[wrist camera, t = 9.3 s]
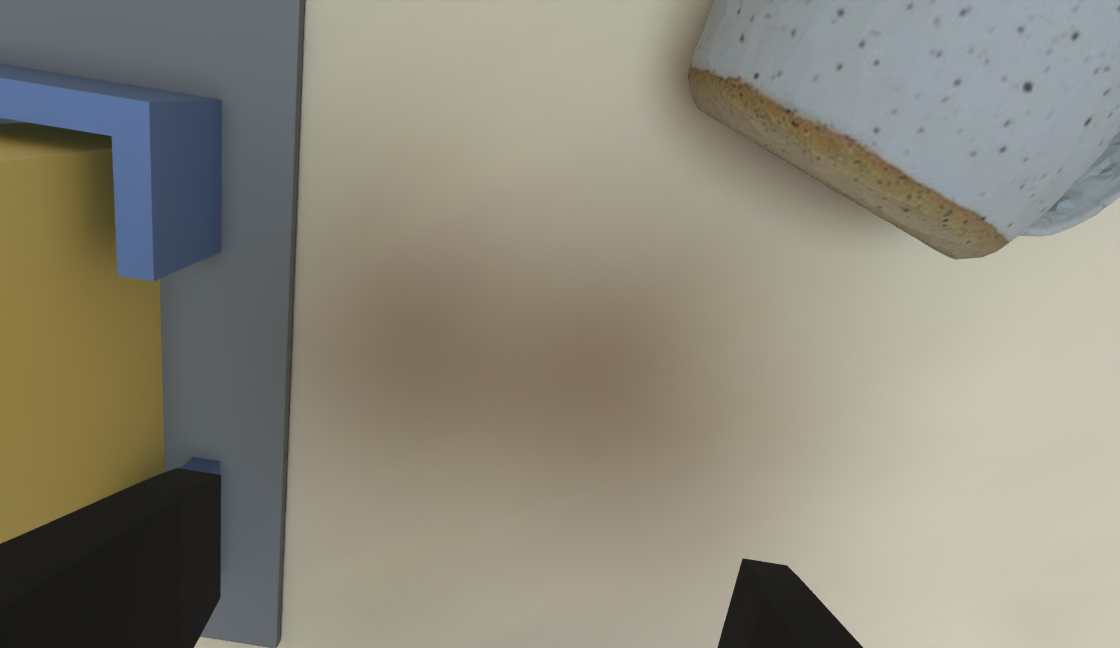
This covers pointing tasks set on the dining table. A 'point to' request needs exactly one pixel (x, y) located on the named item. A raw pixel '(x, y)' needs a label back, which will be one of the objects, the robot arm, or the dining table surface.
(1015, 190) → the ceramic mug
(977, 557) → the dining table surface
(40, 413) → the slat
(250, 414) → the mat
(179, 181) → the end cap
